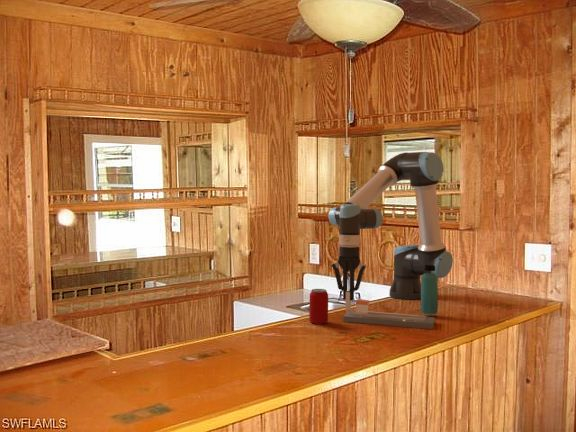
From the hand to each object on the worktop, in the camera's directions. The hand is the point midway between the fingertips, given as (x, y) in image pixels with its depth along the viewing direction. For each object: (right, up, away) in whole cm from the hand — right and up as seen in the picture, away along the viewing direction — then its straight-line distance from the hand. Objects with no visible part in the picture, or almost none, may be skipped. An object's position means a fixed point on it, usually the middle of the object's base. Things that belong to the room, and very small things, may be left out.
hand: (348, 308), depth 229 cm
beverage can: (-11, -4, -7) cm, 14 cm away
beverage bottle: (+31, -4, +6) cm, 32 cm away
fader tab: (+5, -2, -2) cm, 6 cm away
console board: (+14, -4, -4) cm, 16 cm away
